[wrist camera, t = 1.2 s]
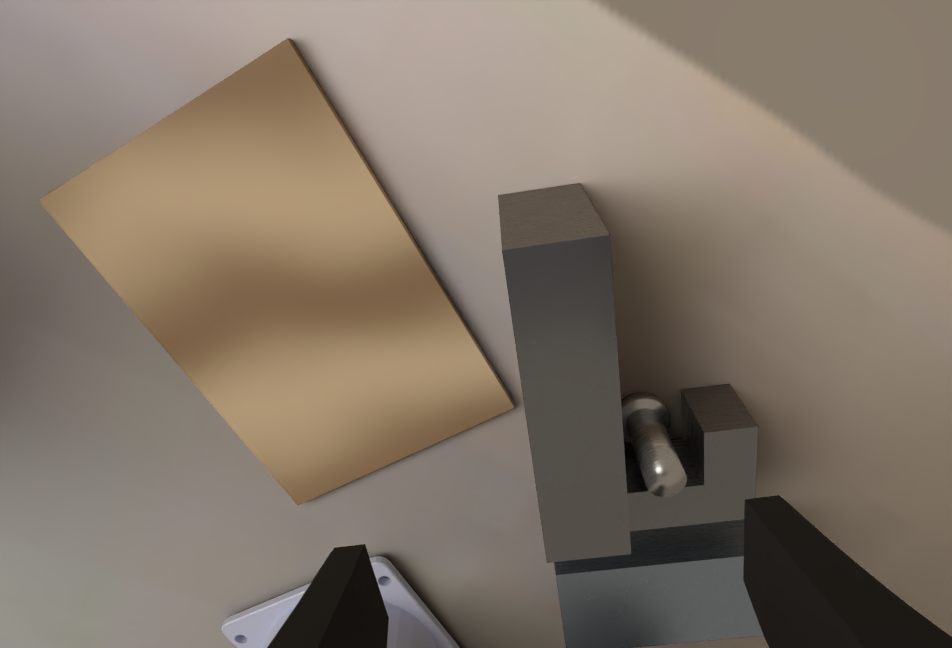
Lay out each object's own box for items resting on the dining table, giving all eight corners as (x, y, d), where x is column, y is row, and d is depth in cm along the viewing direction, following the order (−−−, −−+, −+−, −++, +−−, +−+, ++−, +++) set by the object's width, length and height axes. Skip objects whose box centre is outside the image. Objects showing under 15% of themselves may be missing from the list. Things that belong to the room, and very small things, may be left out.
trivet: (514, 402, 22) (514, 407, 21) (299, 499, 24) (297, 505, 23) (290, 38, 17) (287, 38, 17) (45, 198, 19) (38, 200, 19)
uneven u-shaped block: (498, 195, 19) (502, 250, 14) (733, 160, 18) (815, 205, 14) (539, 490, 23) (552, 602, 19) (727, 469, 23) (787, 579, 18)
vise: (533, 406, 22) (541, 470, 19) (747, 379, 21) (793, 441, 18) (559, 598, 26) (570, 678, 23) (740, 580, 25) (777, 660, 22)
